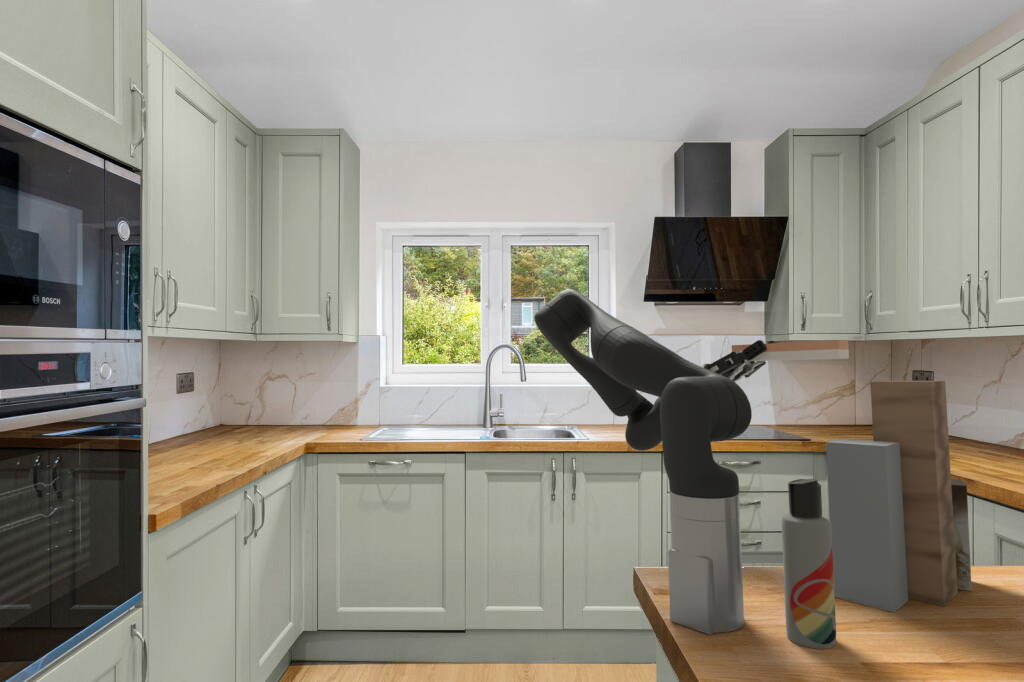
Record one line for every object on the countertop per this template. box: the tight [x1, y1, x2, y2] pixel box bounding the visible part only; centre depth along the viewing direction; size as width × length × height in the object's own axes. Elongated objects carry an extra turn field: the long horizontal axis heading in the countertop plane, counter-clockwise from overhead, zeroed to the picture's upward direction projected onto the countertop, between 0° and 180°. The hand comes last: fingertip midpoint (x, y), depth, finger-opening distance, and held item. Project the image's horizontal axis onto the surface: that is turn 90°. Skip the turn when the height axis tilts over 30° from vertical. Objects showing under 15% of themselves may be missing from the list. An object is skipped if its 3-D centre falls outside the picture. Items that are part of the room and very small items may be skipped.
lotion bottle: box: [781, 478, 837, 650], centre depth 75 cm, size 6×6×20 cm
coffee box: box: [951, 478, 973, 592], centre depth 95 cm, size 9×6×16 cm
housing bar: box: [731, 339, 850, 362], centre depth 105 cm, size 4×19×3 cm, turn 40°
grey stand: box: [825, 438, 909, 613], centre depth 88 cm, size 6×8×23 cm
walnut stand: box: [869, 380, 959, 607], centre depth 90 cm, size 7×8×32 cm
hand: (769, 344), depth 108 cm, fingers closed on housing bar, 4 cm apart
